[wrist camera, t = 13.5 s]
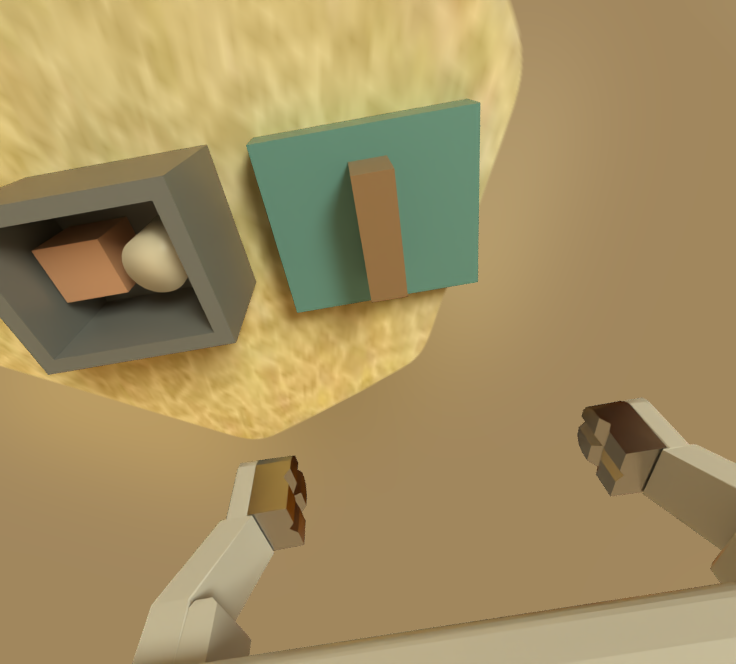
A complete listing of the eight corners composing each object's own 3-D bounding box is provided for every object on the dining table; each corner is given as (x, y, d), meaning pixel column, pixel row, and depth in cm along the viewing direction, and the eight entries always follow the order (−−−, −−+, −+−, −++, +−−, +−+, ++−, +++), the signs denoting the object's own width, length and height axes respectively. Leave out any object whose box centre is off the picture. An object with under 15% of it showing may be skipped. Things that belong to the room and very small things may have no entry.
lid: (299, 296, 32) (293, 339, 27) (253, 137, 25) (234, 157, 20) (468, 267, 31) (493, 306, 27) (467, 98, 25) (501, 109, 20)
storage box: (107, 307, 31) (48, 374, 24) (25, 177, 25) (-82, 220, 19) (256, 282, 31) (235, 342, 24) (206, 144, 25) (162, 175, 18)
